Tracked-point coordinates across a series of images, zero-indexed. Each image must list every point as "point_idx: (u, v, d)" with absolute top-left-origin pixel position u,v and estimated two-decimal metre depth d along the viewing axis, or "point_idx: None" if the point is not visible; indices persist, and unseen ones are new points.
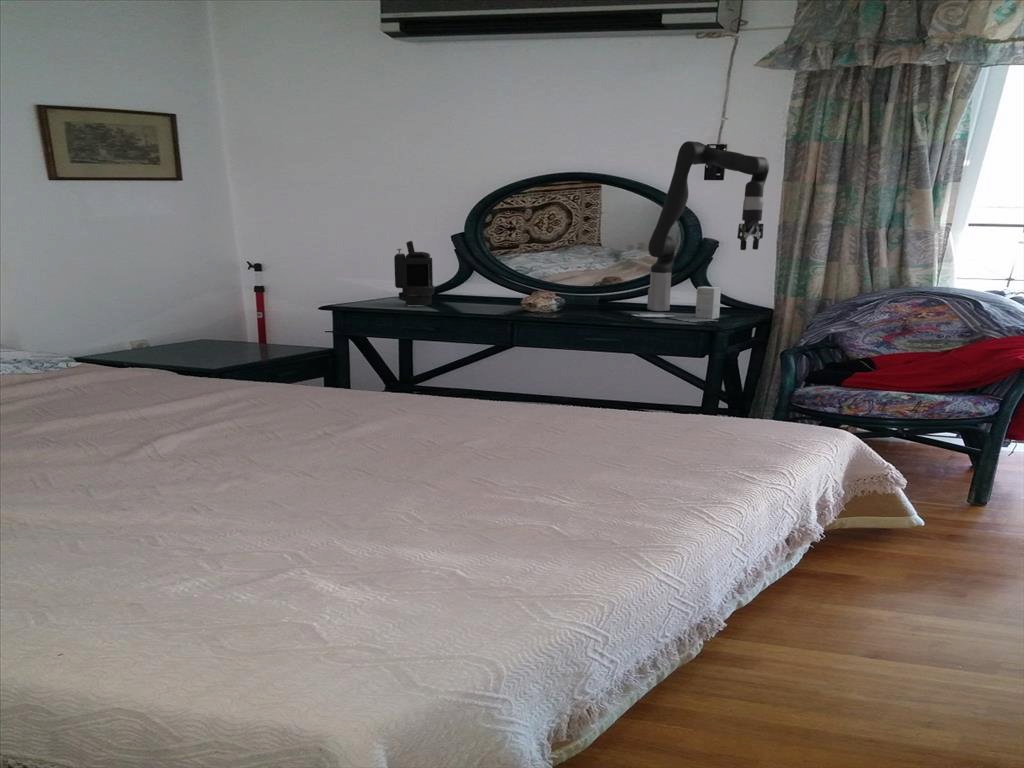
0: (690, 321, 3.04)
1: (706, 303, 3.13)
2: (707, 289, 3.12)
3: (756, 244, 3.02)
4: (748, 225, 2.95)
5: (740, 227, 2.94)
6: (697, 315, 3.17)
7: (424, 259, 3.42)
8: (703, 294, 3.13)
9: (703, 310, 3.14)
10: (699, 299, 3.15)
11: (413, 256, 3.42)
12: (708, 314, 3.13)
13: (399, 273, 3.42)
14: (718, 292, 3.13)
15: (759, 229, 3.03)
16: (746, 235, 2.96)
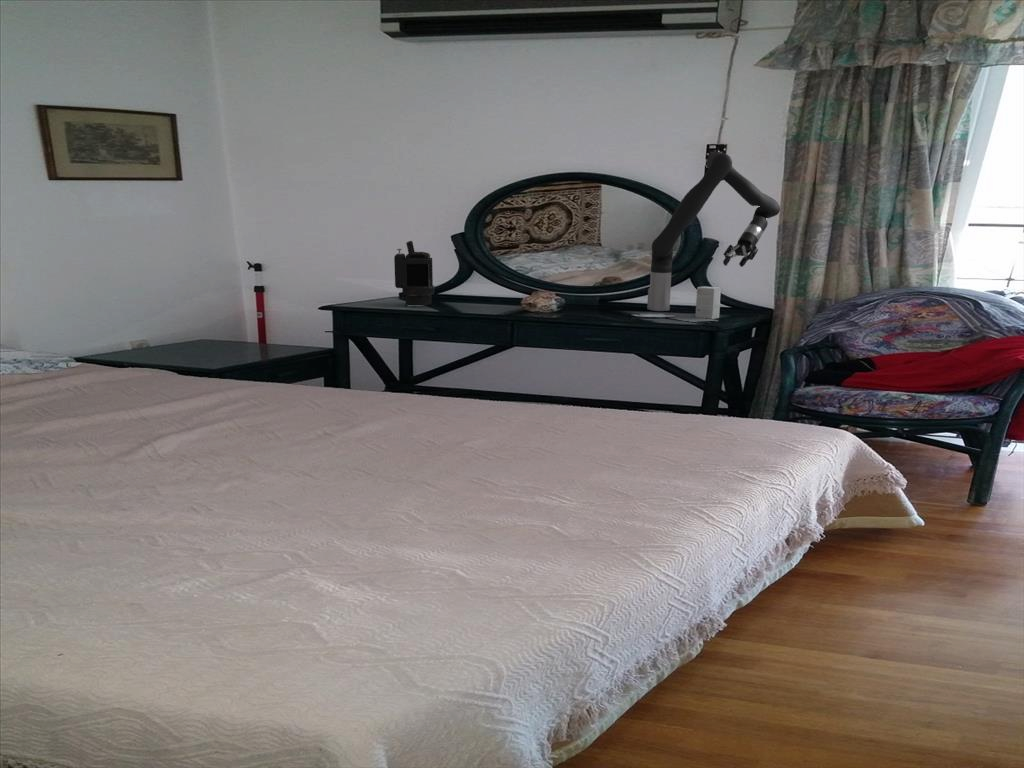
0: (690, 321, 3.04)
1: (706, 303, 3.13)
2: (707, 289, 3.12)
3: (728, 261, 3.25)
4: None
5: (755, 249, 3.18)
6: (697, 315, 3.17)
7: (424, 259, 3.42)
8: (703, 294, 3.13)
9: (703, 310, 3.14)
10: (699, 299, 3.15)
11: (413, 256, 3.42)
12: (708, 314, 3.13)
13: (399, 273, 3.42)
14: (718, 292, 3.13)
15: None
16: None
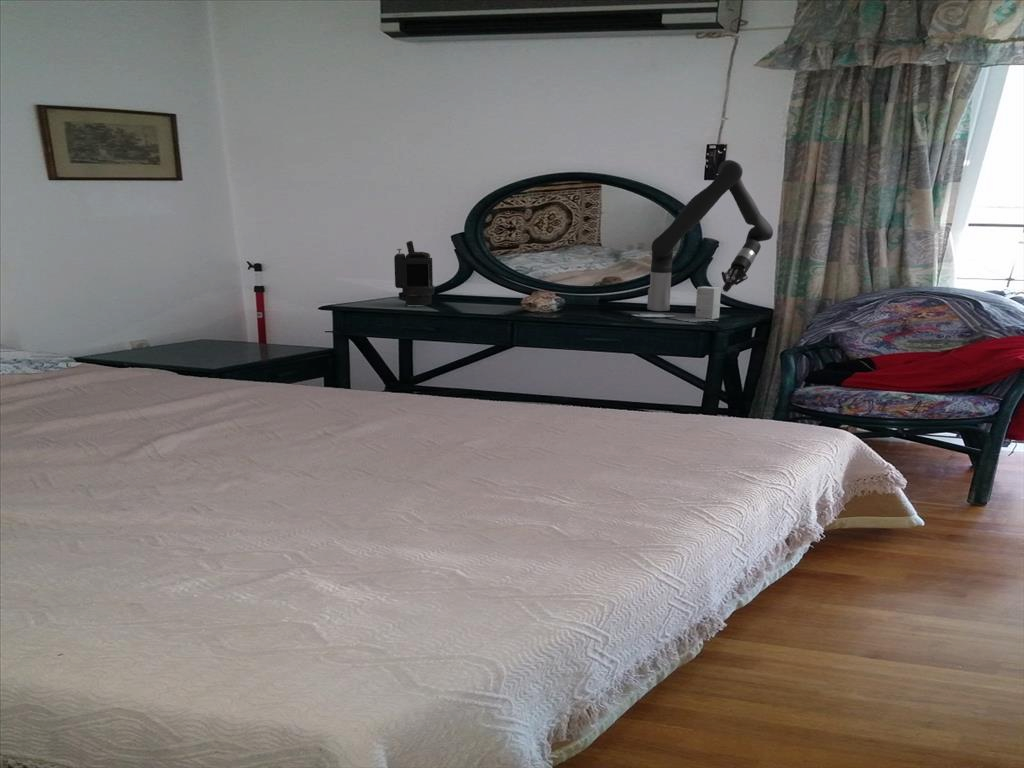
0: (690, 321, 3.04)
1: (706, 303, 3.13)
2: (707, 289, 3.12)
3: None
4: None
5: (743, 277, 3.19)
6: (697, 315, 3.17)
7: (424, 259, 3.42)
8: (703, 294, 3.13)
9: (703, 310, 3.14)
10: (699, 299, 3.15)
11: (413, 256, 3.42)
12: (708, 314, 3.13)
13: (399, 273, 3.42)
14: (718, 292, 3.13)
15: None
16: None
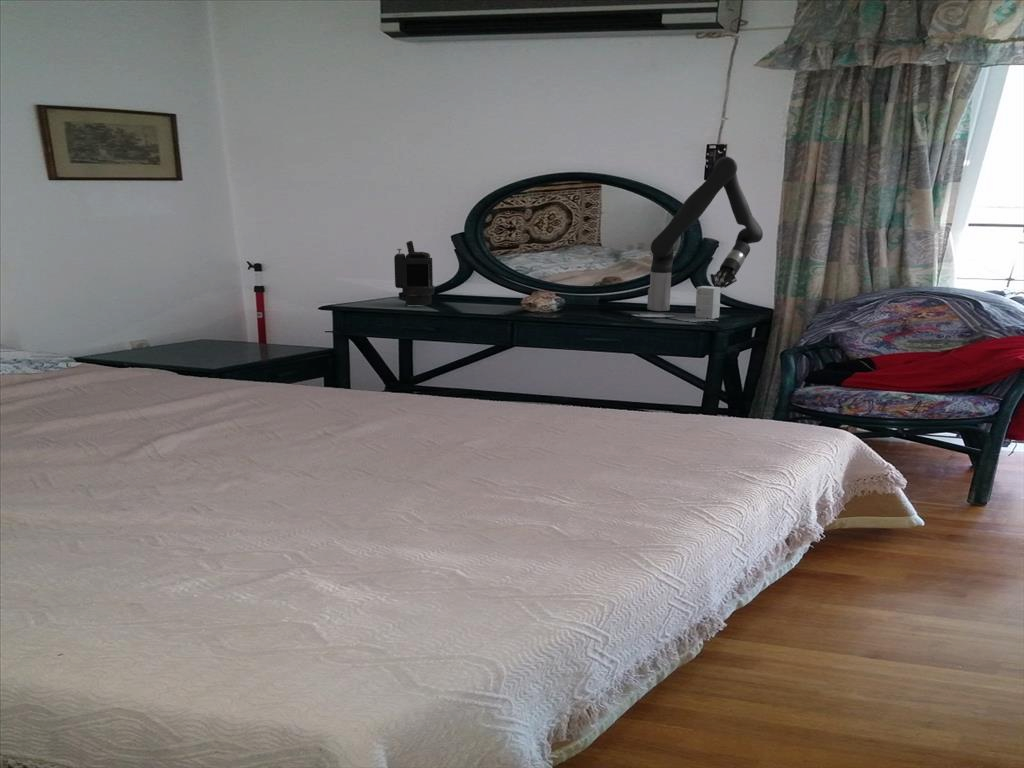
0: (690, 321, 3.04)
1: (706, 303, 3.13)
2: (707, 289, 3.11)
3: None
4: None
5: (732, 280, 3.15)
6: (697, 315, 3.17)
7: (424, 259, 3.42)
8: (703, 294, 3.13)
9: (703, 310, 3.14)
10: (698, 299, 3.15)
11: (413, 256, 3.42)
12: (708, 314, 3.13)
13: (399, 273, 3.42)
14: (718, 292, 3.13)
15: None
16: None
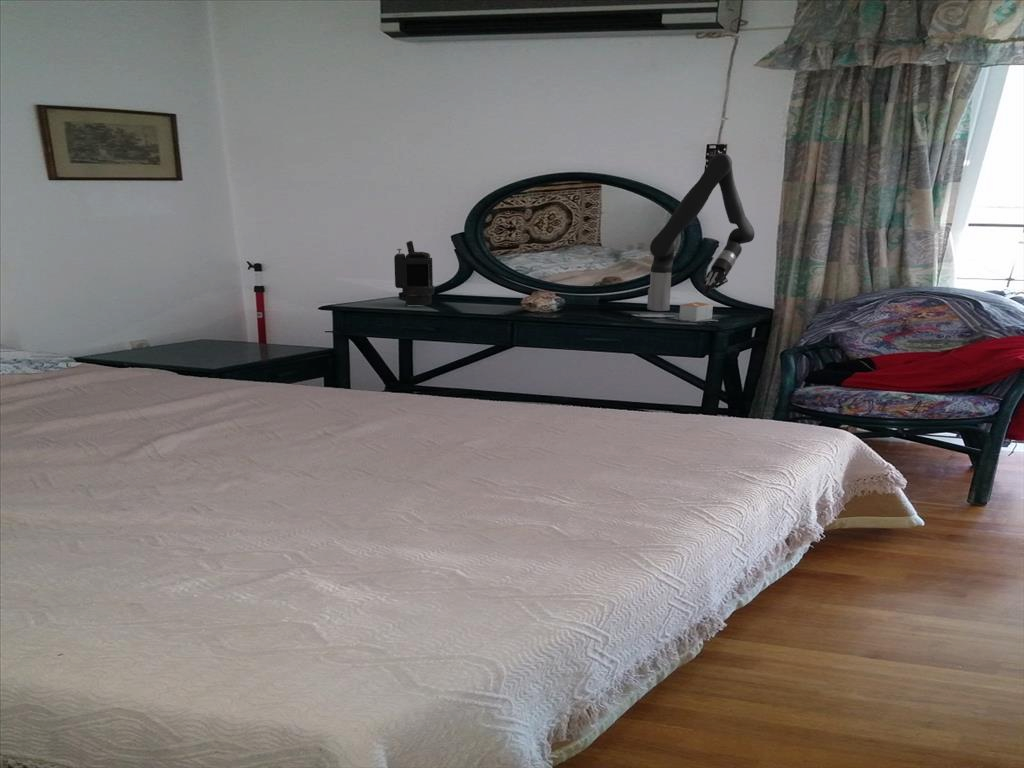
0: (690, 321, 3.04)
1: None
2: (690, 320, 3.05)
3: None
4: None
5: (723, 280, 3.11)
6: None
7: (424, 259, 3.42)
8: None
9: None
10: None
11: (413, 256, 3.42)
12: None
13: (399, 273, 3.42)
14: (699, 311, 3.03)
15: None
16: None
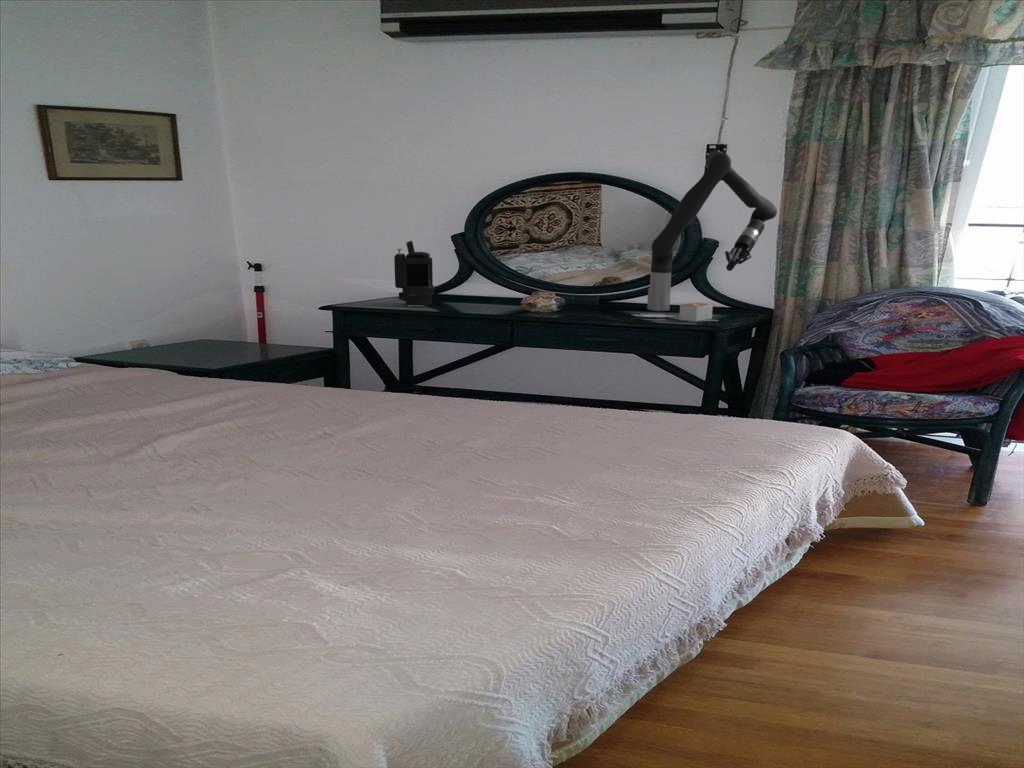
0: (690, 321, 3.04)
1: None
2: (690, 320, 3.05)
3: None
4: None
5: (747, 256, 3.18)
6: None
7: (424, 259, 3.42)
8: None
9: None
10: None
11: (413, 256, 3.42)
12: None
13: (399, 273, 3.42)
14: (699, 311, 3.03)
15: None
16: None
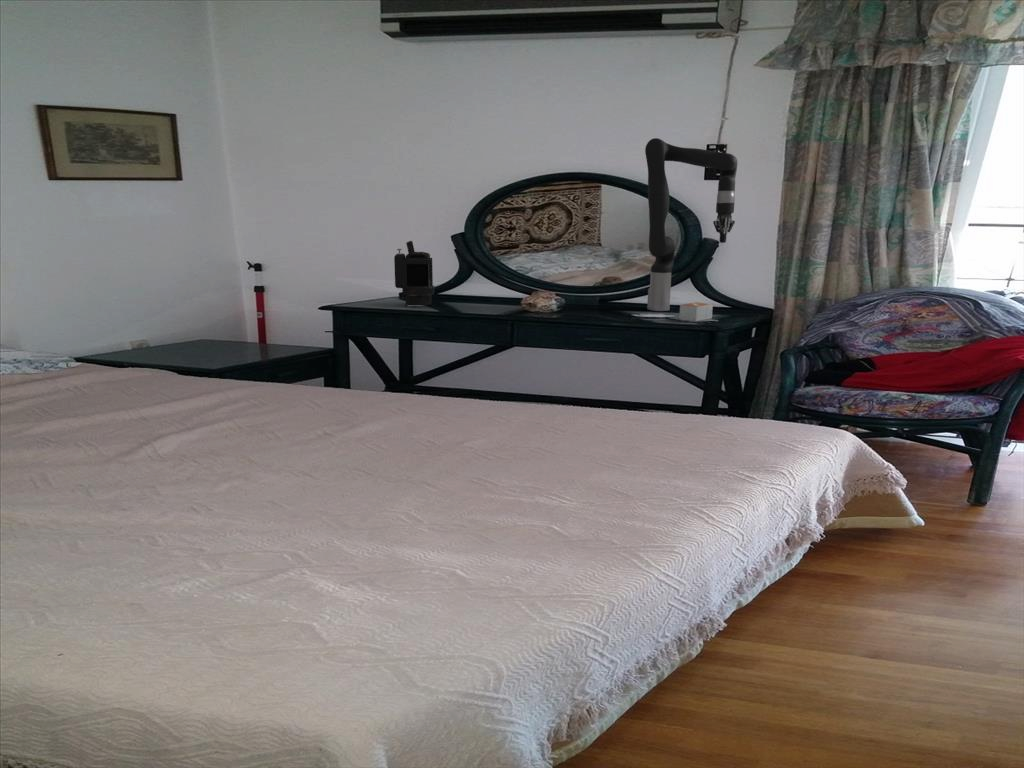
0: (690, 321, 3.04)
1: None
2: (690, 320, 3.05)
3: None
4: (721, 218, 3.21)
5: (715, 224, 3.21)
6: None
7: (424, 259, 3.42)
8: None
9: None
10: None
11: (413, 256, 3.42)
12: None
13: (399, 273, 3.42)
14: (699, 311, 3.03)
15: (729, 225, 3.27)
16: (723, 229, 3.23)
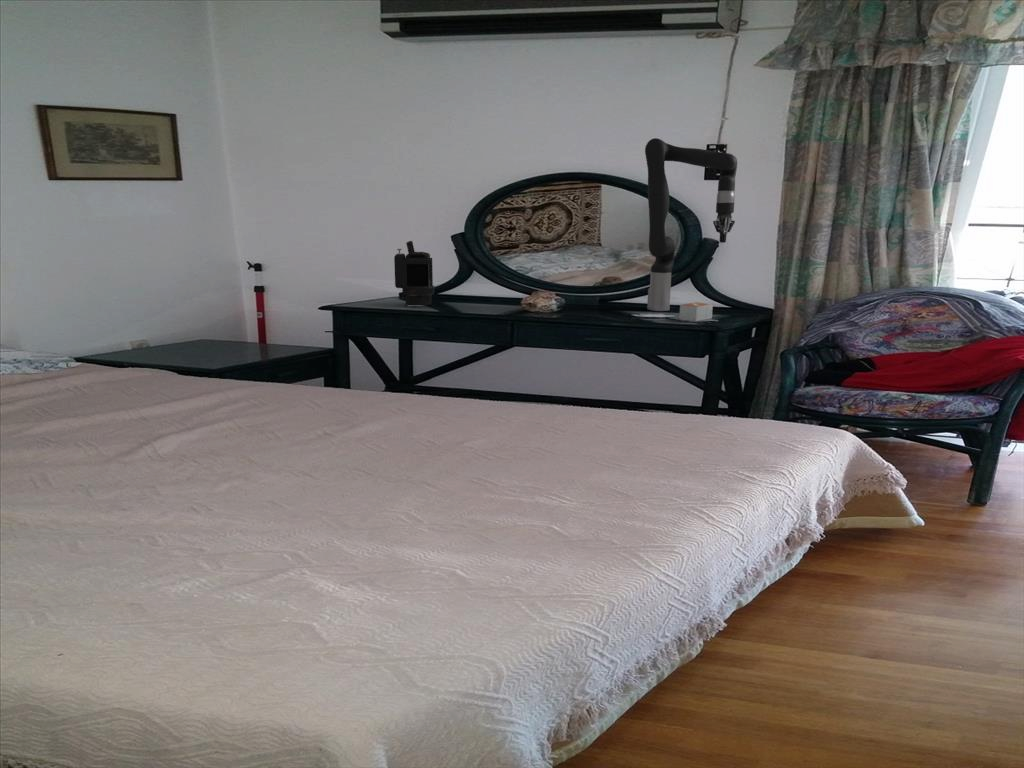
0: (690, 321, 3.04)
1: None
2: (690, 320, 3.05)
3: None
4: (721, 218, 3.21)
5: (715, 224, 3.21)
6: None
7: (424, 259, 3.42)
8: None
9: None
10: None
11: (413, 256, 3.42)
12: None
13: (399, 273, 3.42)
14: (699, 311, 3.03)
15: None
16: (723, 229, 3.23)
